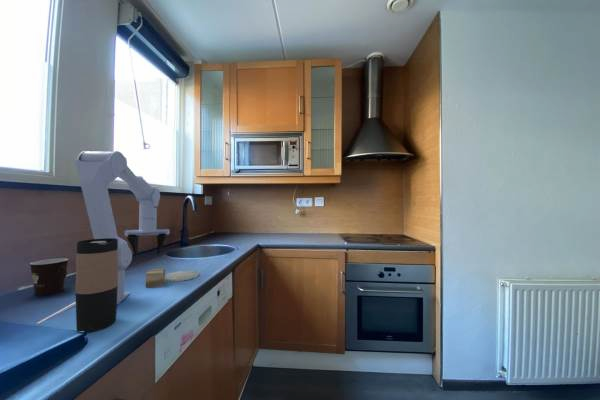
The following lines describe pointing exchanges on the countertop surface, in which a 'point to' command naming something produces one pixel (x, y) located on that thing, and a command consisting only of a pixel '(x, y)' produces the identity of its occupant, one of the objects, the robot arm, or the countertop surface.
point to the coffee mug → (48, 276)
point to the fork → (59, 312)
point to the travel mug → (96, 284)
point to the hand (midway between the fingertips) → (147, 254)
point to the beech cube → (155, 278)
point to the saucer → (181, 275)
